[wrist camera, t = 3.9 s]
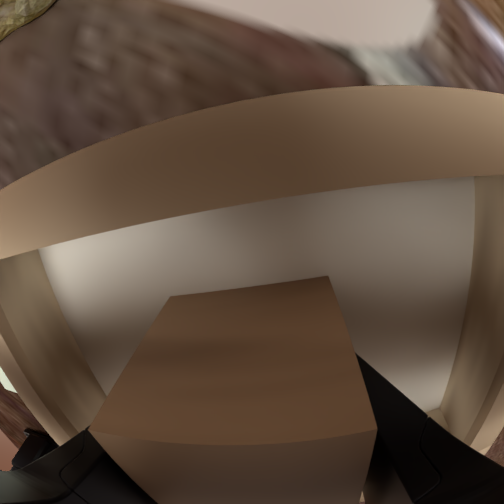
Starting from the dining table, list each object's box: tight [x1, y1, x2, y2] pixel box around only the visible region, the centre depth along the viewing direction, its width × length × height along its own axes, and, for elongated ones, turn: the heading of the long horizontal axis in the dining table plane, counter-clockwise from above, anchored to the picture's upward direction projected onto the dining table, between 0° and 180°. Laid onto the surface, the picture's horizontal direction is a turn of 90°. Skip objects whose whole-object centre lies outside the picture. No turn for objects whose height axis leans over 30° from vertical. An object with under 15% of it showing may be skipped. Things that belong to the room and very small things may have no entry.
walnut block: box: [88, 276, 377, 504], centre depth 7 cm, size 4×4×5 cm
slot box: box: [0, 85, 504, 502], centre depth 8 cm, size 13×17×5 cm
